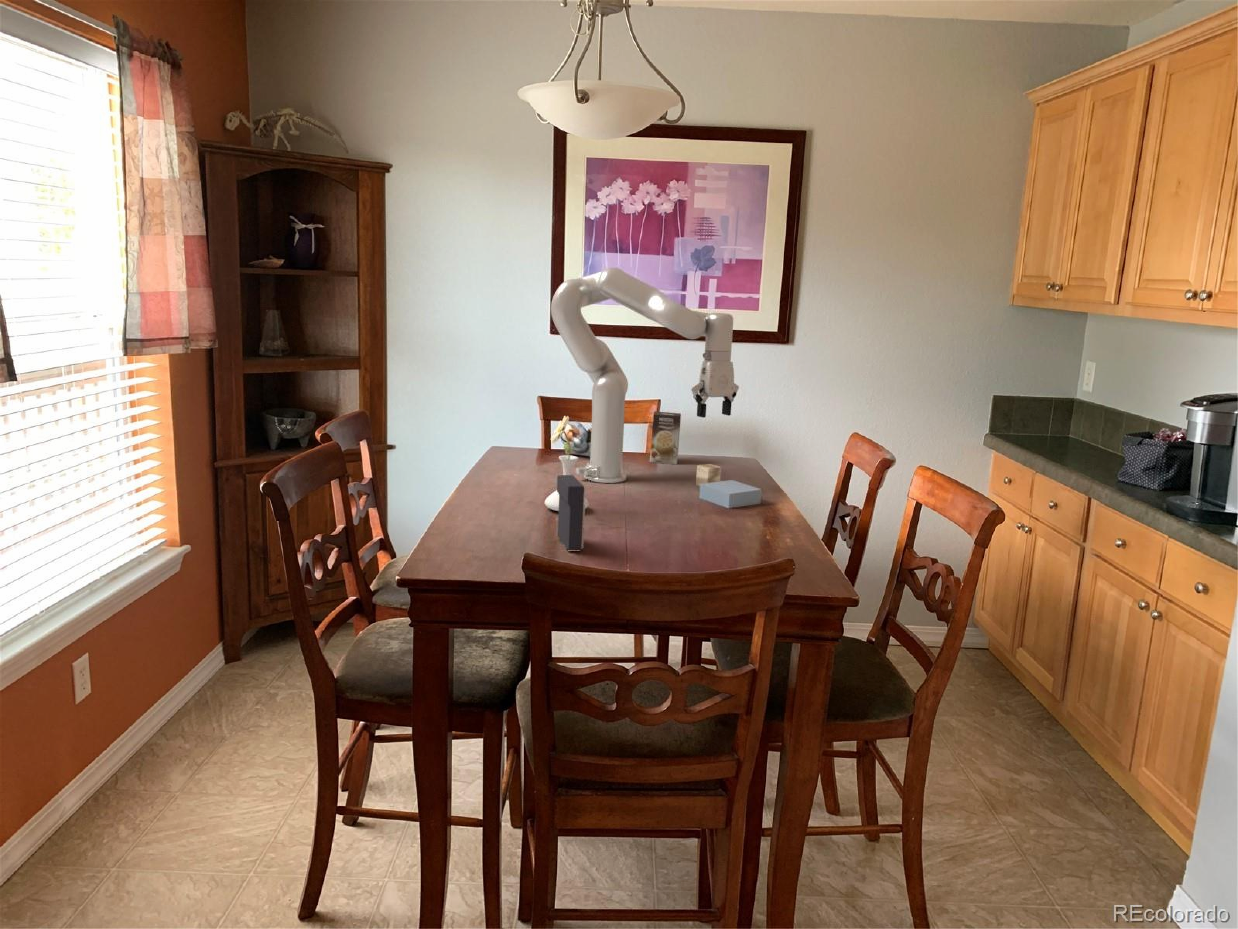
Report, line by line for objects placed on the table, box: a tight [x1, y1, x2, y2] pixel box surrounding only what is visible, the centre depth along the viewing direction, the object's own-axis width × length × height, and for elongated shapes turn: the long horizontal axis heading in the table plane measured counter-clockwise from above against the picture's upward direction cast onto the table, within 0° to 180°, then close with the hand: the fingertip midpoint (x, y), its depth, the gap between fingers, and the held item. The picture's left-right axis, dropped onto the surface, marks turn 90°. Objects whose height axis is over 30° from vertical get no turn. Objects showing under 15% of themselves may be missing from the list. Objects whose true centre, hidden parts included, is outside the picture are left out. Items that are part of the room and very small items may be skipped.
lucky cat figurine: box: [559, 420, 592, 457], centre depth 301 cm, size 15×12×14 cm
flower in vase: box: [544, 415, 590, 512], centre depth 231 cm, size 13×11×25 cm
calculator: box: [556, 474, 586, 551], centre depth 204 cm, size 11×4×15 cm, turn 17°
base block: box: [698, 479, 763, 509], centre depth 252 cm, size 12×12×4 cm
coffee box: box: [649, 410, 682, 465], centre depth 297 cm, size 9×6×16 cm
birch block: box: [695, 463, 722, 487], centre depth 268 cm, size 5×5×6 cm
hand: (713, 415), depth 264 cm, fingers open, 9 cm apart
